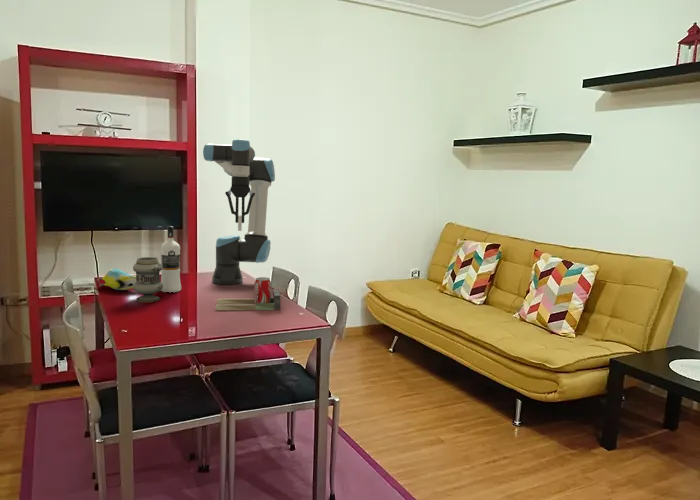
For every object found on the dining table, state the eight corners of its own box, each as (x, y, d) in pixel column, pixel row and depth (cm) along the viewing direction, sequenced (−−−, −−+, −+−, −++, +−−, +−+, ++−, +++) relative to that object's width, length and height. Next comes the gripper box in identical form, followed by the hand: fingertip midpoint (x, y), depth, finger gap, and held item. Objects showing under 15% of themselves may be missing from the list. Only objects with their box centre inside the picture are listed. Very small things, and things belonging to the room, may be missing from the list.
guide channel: (217, 303, 241) (217, 289, 240) (278, 303, 245) (278, 289, 245) (215, 310, 229) (215, 295, 228) (280, 309, 234) (280, 295, 233)
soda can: (268, 309, 234) (268, 280, 233) (251, 307, 235) (252, 279, 234) (272, 305, 241) (273, 277, 239) (256, 304, 242) (257, 276, 240)
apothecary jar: (132, 297, 245) (132, 256, 243) (161, 296, 250) (161, 255, 247) (133, 303, 234) (133, 260, 232) (164, 302, 239) (164, 260, 236)
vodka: (181, 288, 266) (181, 225, 262) (180, 292, 258) (180, 227, 254) (160, 288, 264) (160, 224, 260) (159, 293, 255) (159, 227, 251)
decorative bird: (122, 296, 248) (122, 275, 246) (85, 285, 265) (84, 265, 264) (149, 291, 259) (149, 271, 257) (112, 281, 276) (112, 262, 275)
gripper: (224, 175, 239) (224, 231, 242) (256, 176, 241) (255, 231, 244) (225, 175, 246) (224, 229, 249) (255, 176, 249) (254, 229, 252)
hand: (239, 230), depth 247 cm, fingers closed
